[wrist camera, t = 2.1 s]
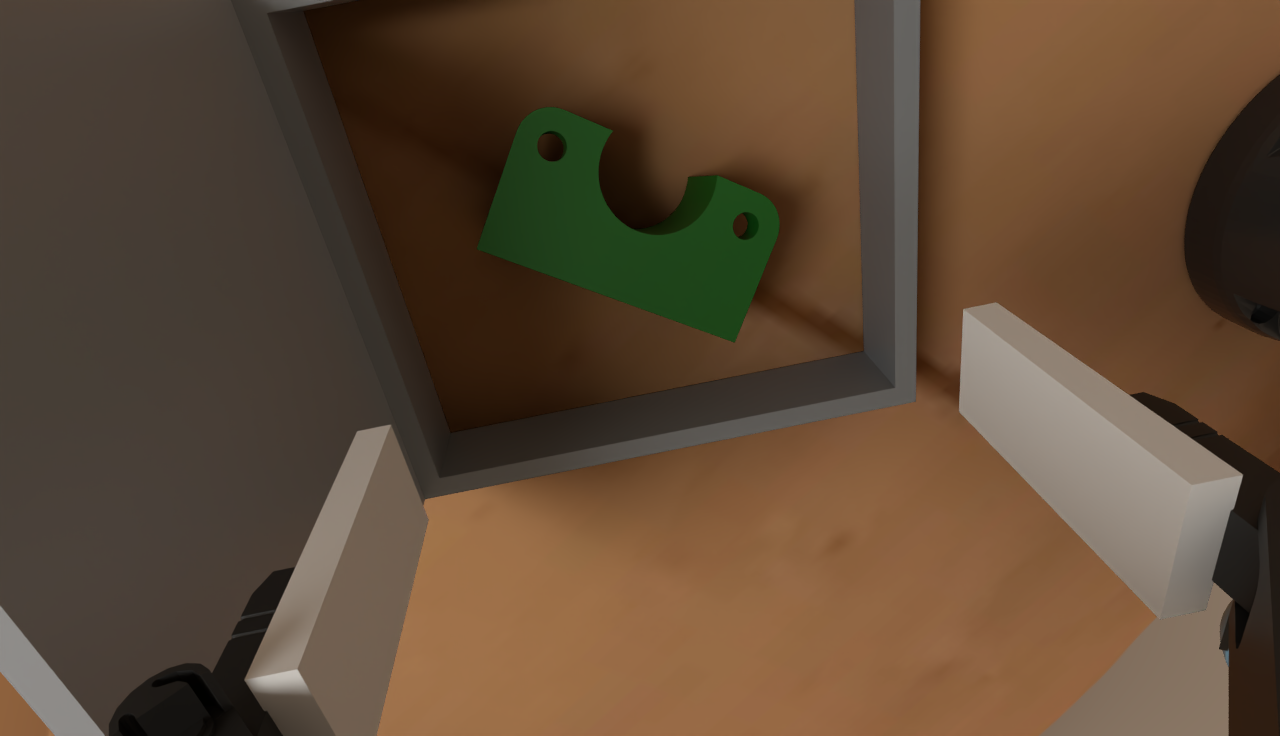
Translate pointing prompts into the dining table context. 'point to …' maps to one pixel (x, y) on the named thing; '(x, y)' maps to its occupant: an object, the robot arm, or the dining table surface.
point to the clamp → (628, 231)
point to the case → (277, 330)
